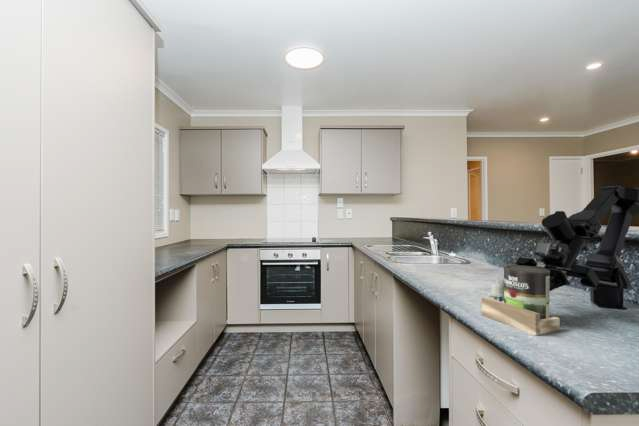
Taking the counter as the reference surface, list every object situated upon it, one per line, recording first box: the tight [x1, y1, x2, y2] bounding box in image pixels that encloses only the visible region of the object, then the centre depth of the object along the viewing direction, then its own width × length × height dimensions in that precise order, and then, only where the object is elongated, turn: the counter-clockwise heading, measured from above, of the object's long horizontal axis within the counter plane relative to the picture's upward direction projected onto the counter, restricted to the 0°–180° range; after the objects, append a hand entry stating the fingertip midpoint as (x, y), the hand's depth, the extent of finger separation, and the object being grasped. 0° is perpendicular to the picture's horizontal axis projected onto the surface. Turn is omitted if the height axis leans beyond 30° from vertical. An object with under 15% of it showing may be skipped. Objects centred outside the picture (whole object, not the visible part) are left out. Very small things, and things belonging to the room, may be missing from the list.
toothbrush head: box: [488, 277, 504, 302], centre depth 104 cm, size 5×7×25 cm
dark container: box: [502, 264, 551, 320], centre depth 80 cm, size 10×10×14 cm
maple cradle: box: [480, 296, 561, 336], centre depth 78 cm, size 8×15×5 cm, turn 20°
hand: (539, 293), depth 81 cm, fingers closed, pressing on dark container
